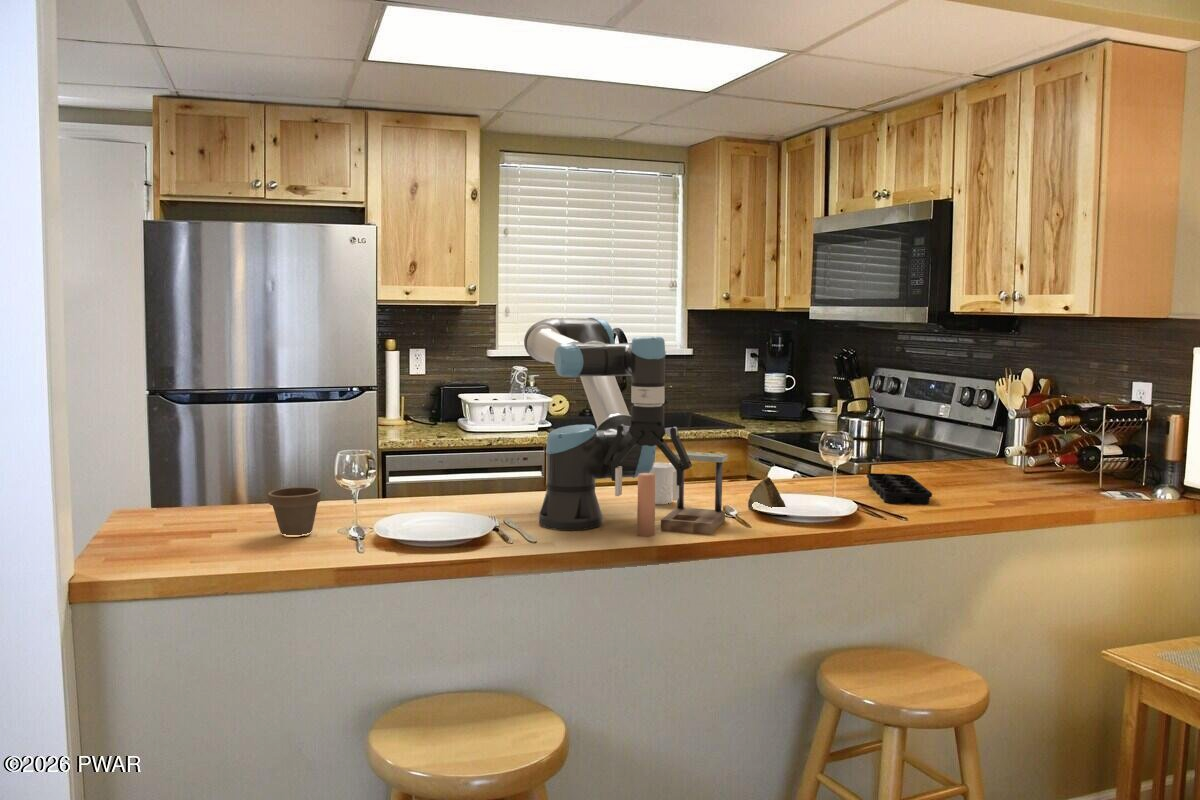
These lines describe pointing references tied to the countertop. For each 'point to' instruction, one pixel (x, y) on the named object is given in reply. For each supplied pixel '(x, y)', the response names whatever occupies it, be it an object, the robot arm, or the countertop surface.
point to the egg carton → (899, 489)
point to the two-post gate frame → (718, 483)
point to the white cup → (663, 482)
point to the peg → (646, 505)
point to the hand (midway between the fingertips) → (646, 497)
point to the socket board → (693, 520)
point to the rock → (766, 495)
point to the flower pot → (295, 508)
